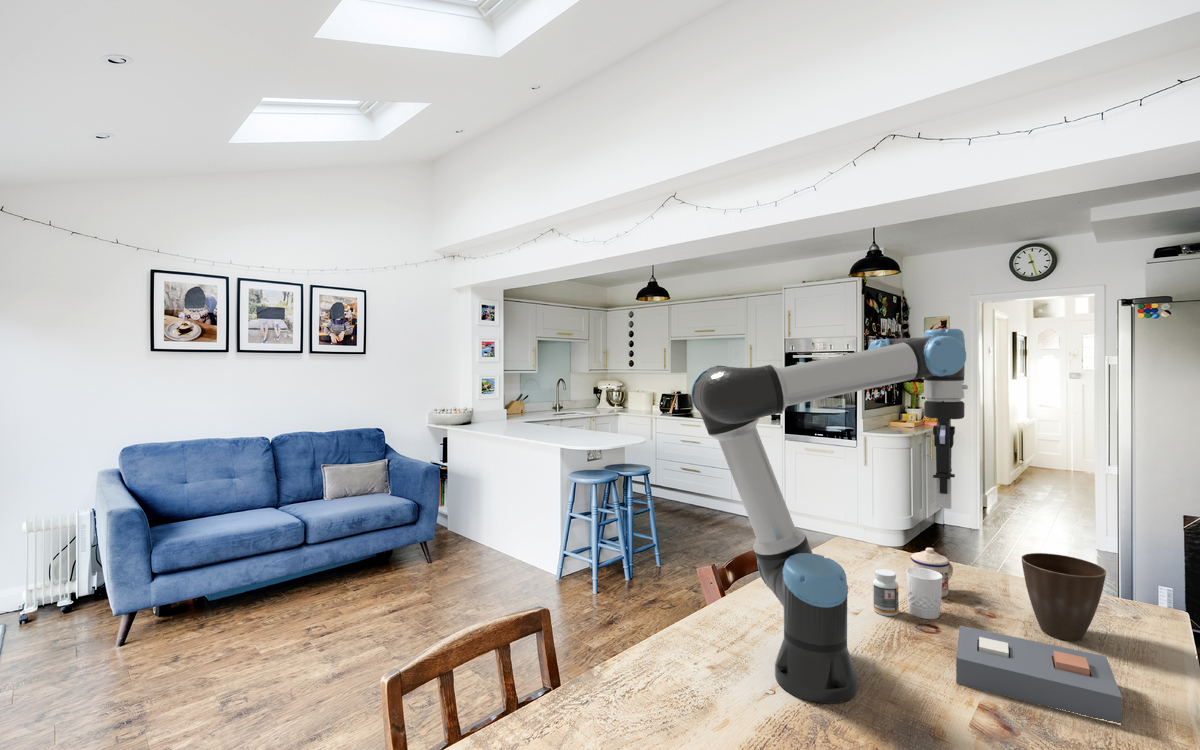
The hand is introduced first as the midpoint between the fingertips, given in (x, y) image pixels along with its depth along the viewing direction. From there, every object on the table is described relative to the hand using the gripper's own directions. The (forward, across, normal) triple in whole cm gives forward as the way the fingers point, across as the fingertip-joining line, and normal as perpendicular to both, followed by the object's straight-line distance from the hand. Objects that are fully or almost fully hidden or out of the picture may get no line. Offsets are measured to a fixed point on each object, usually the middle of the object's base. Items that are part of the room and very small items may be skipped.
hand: (943, 507), depth 125 cm
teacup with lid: (+31, +32, +4) cm, 44 cm away
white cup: (+31, +15, +5) cm, 34 cm away
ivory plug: (+30, -8, -9) cm, 33 cm away
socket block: (+30, -8, -15) cm, 35 cm away
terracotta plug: (+30, -8, -21) cm, 37 cm away
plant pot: (+31, +20, -22) cm, 43 cm away
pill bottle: (+31, +11, +13) cm, 35 cm away
